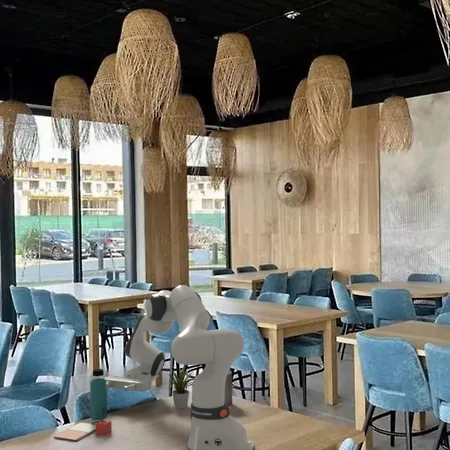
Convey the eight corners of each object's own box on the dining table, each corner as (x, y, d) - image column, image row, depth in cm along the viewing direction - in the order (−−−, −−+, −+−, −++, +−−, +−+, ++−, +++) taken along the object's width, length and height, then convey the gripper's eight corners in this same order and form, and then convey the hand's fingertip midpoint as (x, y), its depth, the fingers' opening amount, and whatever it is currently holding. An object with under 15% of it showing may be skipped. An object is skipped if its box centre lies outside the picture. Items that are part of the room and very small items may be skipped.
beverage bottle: (103, 425, 222) (103, 371, 222) (86, 424, 223) (86, 371, 223) (110, 419, 228) (109, 367, 228) (94, 418, 230) (93, 367, 230)
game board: (103, 426, 220) (103, 424, 220) (76, 441, 205) (76, 439, 205) (81, 423, 224) (81, 421, 224) (52, 438, 208) (52, 436, 208)
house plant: (177, 415, 233) (177, 374, 233) (155, 408, 242) (155, 368, 243) (203, 407, 243) (203, 367, 243) (181, 400, 253) (181, 362, 253)
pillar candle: (222, 399, 254) (221, 364, 254) (237, 404, 246) (236, 369, 246) (204, 404, 248) (203, 368, 248) (218, 409, 240) (218, 373, 240)
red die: (111, 432, 214) (111, 420, 214) (105, 435, 211) (105, 424, 211) (102, 430, 216) (102, 419, 216) (95, 434, 212) (95, 422, 212)
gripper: (112, 370, 253) (93, 377, 241) (154, 374, 246) (137, 382, 233) (112, 384, 253) (93, 393, 240) (154, 389, 246) (137, 398, 233)
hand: (115, 388), depth 237 cm, fingers open, 8 cm apart
